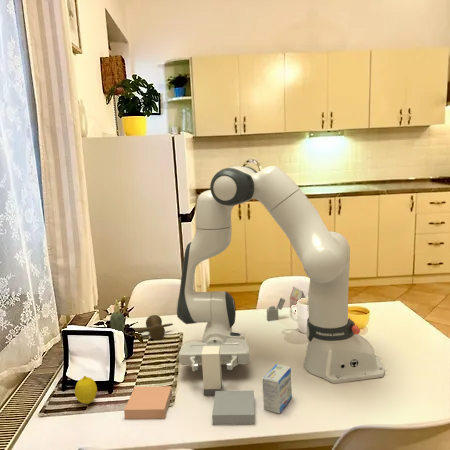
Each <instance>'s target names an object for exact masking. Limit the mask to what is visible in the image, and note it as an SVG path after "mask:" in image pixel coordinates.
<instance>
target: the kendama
mask: <svg viewBox="0 0 450 450" xmlns="http://www.w3.org/2000/svg"><path fill="white" fill-rule="evenodd" d="M173 325H174V323H165V324H163V320H162V318H161V317H160V316H159V315H157V314H153V315H150V316H148V317H147V318H146V320H145V327H131V326H130V327H131V328H133V329H134V330H135V331H136V332H138V333H140V334H143V333H146V332H149V337H150V338H151V339H152V340H154V341H157V340H162V338H164V336H165V334H166V330H165V328H166V327H170V326H173ZM140 334H139V335H140Z"/></svg>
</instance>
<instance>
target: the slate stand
mask: <svg viewBox="0 0 450 450" xmlns="http://www.w3.org/2000/svg"><path fill="white" fill-rule="evenodd" d="M213 399H214V400H213V405H212V414H211V417H212V418H211V419H212V420H211V422H212V425H214V426H215V425H217V426H218V425H227V426H228V425H229V426H230V425H255V424H256V421H255V419H256V418H255V417H256V416H255V389H253V390H250V389H249V390H222V391H215V396H214V398H213Z"/></svg>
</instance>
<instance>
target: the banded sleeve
mask: <svg viewBox="0 0 450 450" xmlns="http://www.w3.org/2000/svg"><path fill="white" fill-rule="evenodd" d="M201 367H202V381H203V397H215V391H223V386H224V385H223V376H222V374H223V373H222V364H221V356H220V346H203V350H202V365H201Z"/></svg>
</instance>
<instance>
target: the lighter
mask: <svg viewBox="0 0 450 450" xmlns="http://www.w3.org/2000/svg"><path fill="white" fill-rule="evenodd" d="M285 303H286V299H285V298H283V297H280V299H279V300H278V303H277V305H276V306H275V305H271V306H269V307H268V308H266V320H267V322H273V321H279V319H280V318H279V310H280V311H282V309H283V307H284V304H285Z"/></svg>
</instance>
